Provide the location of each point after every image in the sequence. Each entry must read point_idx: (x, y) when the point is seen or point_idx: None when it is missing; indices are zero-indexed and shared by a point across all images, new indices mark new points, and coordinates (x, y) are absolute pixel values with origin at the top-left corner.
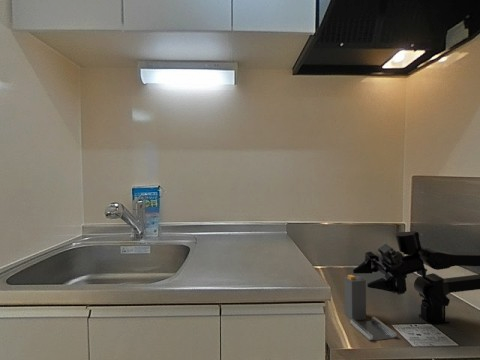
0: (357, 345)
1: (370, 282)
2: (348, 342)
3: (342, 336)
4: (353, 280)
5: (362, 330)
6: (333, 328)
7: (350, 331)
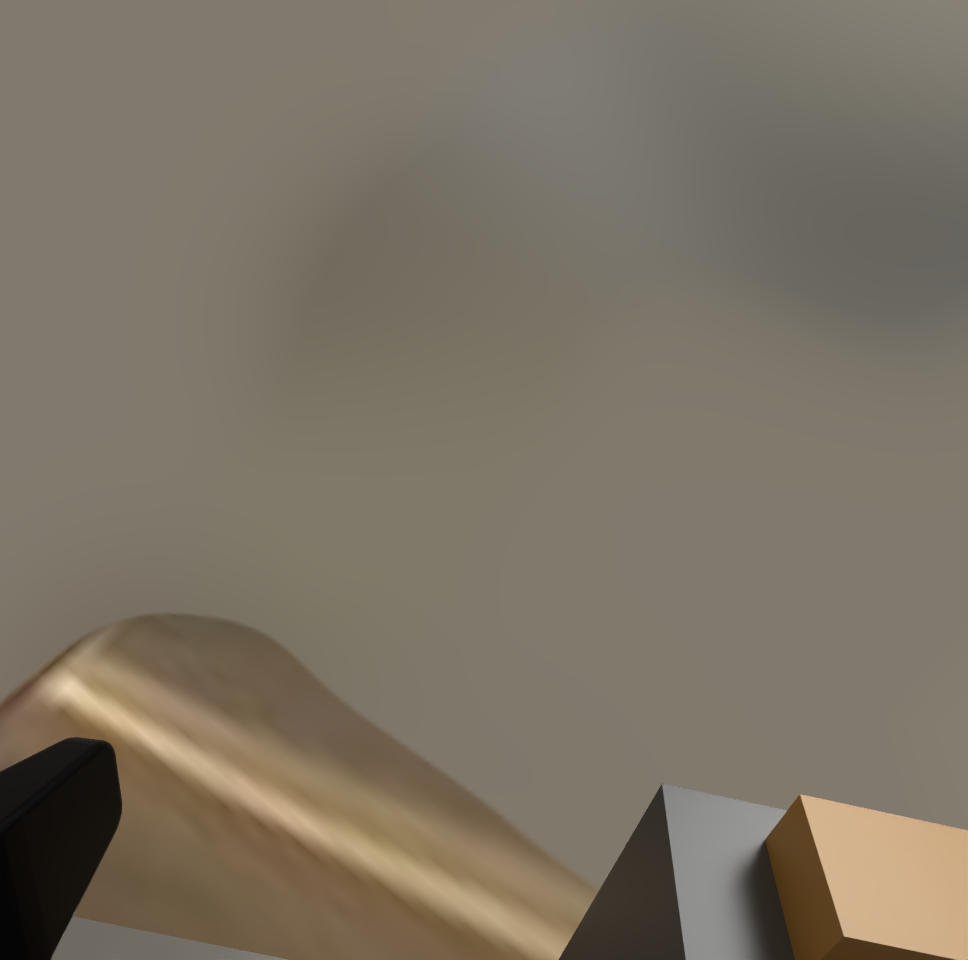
0: None
1: (26, 798)
2: (120, 728)
3: (231, 750)
4: (739, 877)
5: (104, 926)
6: (393, 774)
7: (261, 887)
